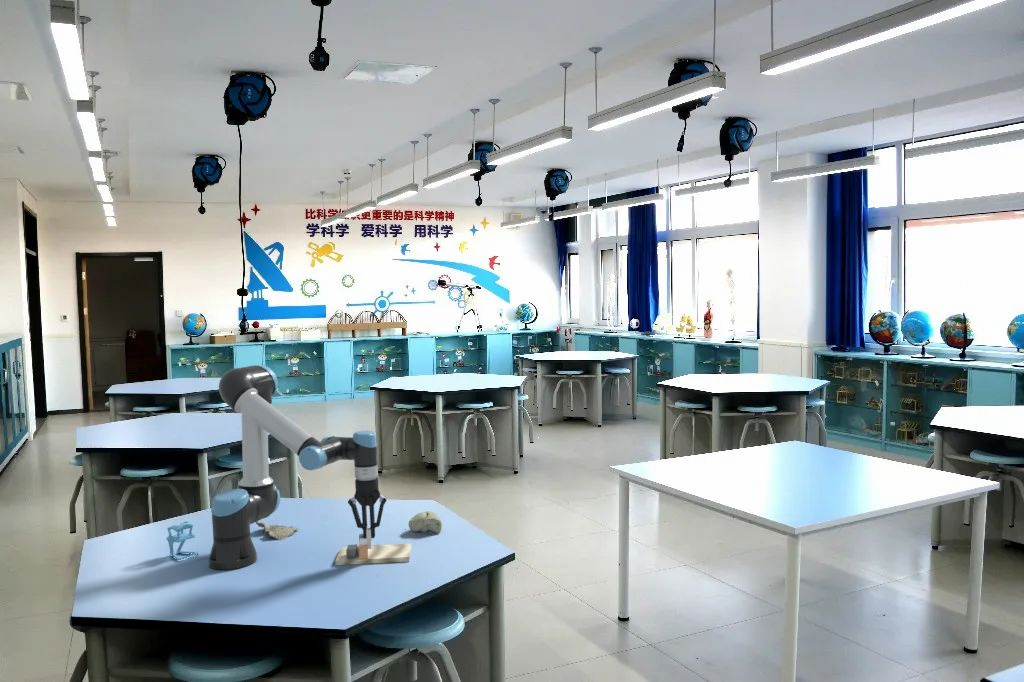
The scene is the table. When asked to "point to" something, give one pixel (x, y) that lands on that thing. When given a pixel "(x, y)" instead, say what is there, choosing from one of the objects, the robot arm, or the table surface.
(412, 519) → the seashell
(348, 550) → the block
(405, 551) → the plate
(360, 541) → the bar
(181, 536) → the chair
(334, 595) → the table surface
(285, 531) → the dried leaf
